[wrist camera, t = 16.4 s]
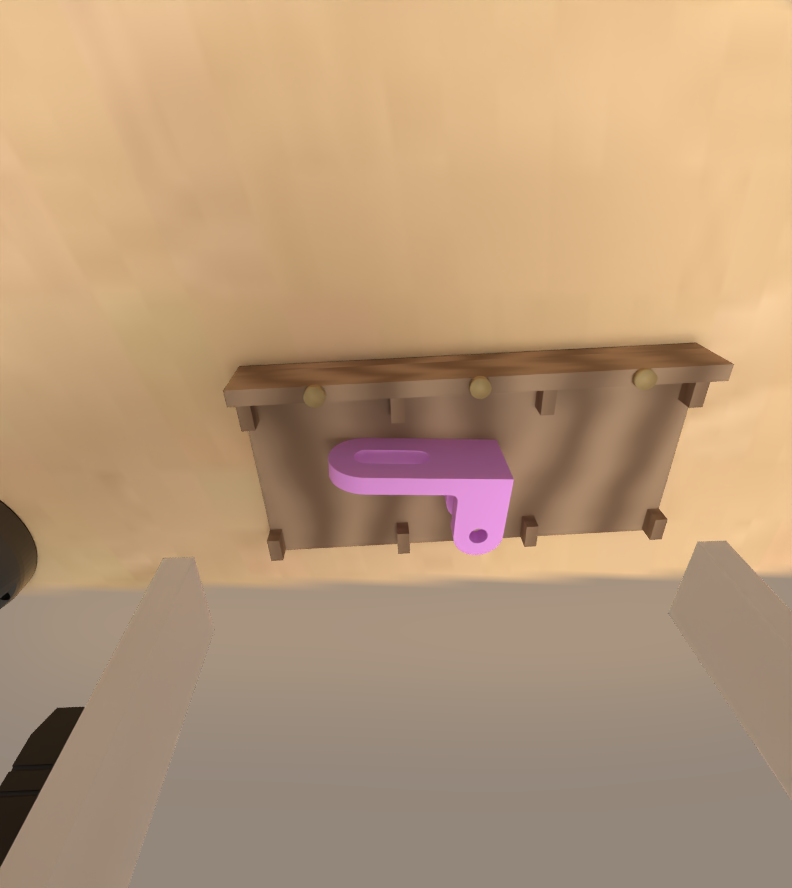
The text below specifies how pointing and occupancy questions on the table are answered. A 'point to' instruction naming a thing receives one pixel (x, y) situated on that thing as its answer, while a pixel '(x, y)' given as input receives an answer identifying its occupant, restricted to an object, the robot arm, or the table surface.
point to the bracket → (434, 480)
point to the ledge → (475, 437)
